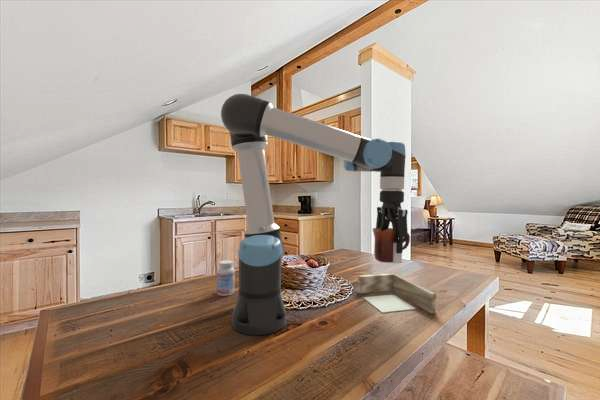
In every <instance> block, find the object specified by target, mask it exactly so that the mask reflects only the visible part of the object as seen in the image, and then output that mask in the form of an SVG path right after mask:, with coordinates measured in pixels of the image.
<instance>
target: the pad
mask: <svg viewBox="0 0 600 400" xmlns="http://www.w3.org/2000/svg"><path fill="white" fill-rule="evenodd" d="M362 298H363V300H365V301H366V302H367V303H369V304H370V305H371V306H372V307H373V308H375V309H376V310H378V312H380V313H381V314H386V313H387V314H388V313H395V312H397V313H398V312H405V311H414V310H417V307H416V308H415V307H414V306H412V305H411V304H410V303H408V302H406V301H404V299H401V298H400V297H399V296H397V295H395V294H386V295H374V296H366V297H365V296H363V297H362Z"/></svg>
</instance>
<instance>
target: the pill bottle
mask: <svg viewBox="0 0 600 400" xmlns="http://www.w3.org/2000/svg"><path fill="white" fill-rule="evenodd" d="M218 264H219V265H218V266H219V268H217V270H216V294H217V296H221V297H228V296H231V295H233V294H234V293H235V274H236V273H235V272H236V271H235V268H234V267H233V266H234V261H232V260H229V259H227V260H226V259H225V260H220V261H219V263H218Z"/></svg>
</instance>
